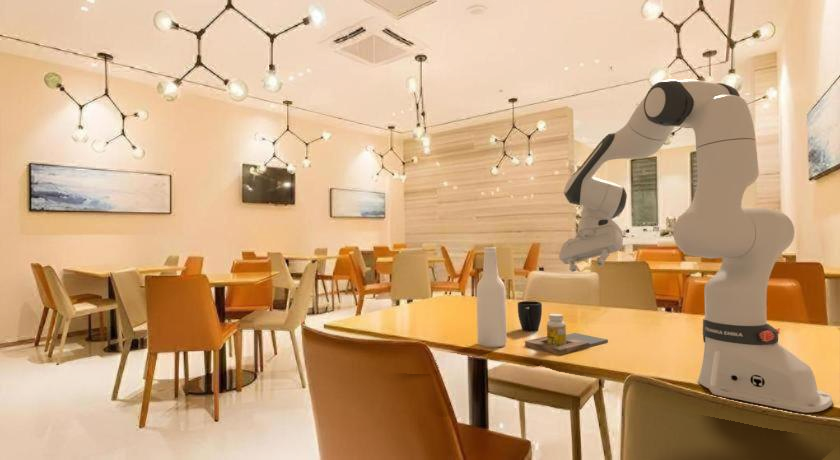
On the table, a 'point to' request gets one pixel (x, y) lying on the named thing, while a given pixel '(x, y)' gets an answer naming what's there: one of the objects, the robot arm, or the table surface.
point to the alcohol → (491, 304)
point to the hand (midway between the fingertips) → (586, 267)
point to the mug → (530, 315)
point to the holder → (560, 350)
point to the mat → (587, 339)
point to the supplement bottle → (556, 330)
